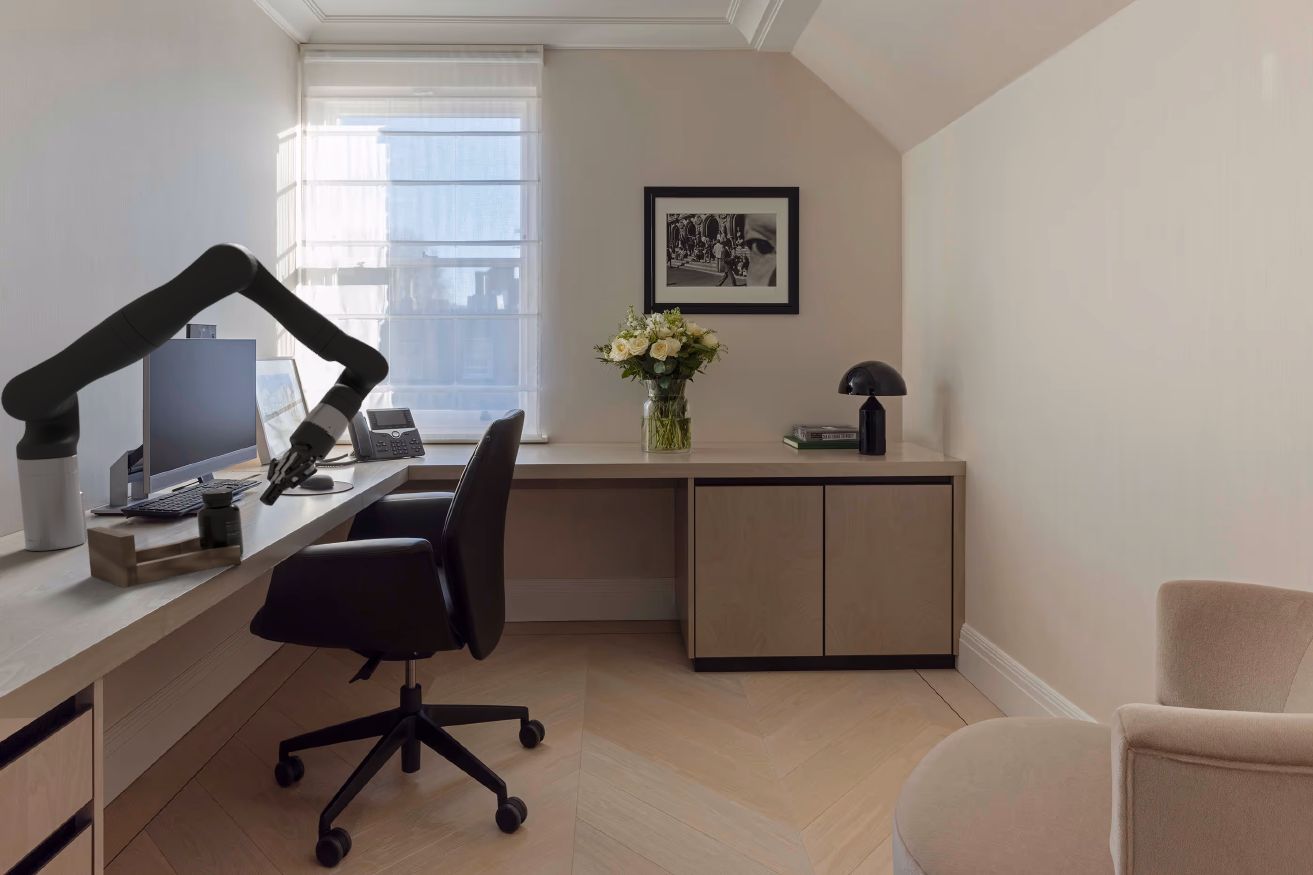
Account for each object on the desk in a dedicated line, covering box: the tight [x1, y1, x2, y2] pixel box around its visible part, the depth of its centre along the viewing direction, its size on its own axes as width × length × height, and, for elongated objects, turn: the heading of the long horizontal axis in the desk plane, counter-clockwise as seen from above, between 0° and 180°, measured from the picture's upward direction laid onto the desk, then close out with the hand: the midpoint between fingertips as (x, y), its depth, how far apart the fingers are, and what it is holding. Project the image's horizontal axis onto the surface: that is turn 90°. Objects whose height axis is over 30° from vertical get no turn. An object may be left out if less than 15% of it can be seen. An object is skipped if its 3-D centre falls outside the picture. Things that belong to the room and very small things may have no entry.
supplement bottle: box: [196, 488, 244, 556], centre depth 146 cm, size 7×7×12 cm
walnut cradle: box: [86, 526, 242, 588], centre depth 139 cm, size 18×15×8 cm
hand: (265, 503), depth 153 cm, fingers closed
